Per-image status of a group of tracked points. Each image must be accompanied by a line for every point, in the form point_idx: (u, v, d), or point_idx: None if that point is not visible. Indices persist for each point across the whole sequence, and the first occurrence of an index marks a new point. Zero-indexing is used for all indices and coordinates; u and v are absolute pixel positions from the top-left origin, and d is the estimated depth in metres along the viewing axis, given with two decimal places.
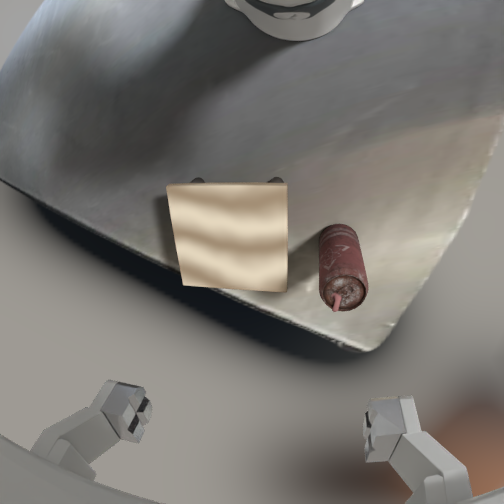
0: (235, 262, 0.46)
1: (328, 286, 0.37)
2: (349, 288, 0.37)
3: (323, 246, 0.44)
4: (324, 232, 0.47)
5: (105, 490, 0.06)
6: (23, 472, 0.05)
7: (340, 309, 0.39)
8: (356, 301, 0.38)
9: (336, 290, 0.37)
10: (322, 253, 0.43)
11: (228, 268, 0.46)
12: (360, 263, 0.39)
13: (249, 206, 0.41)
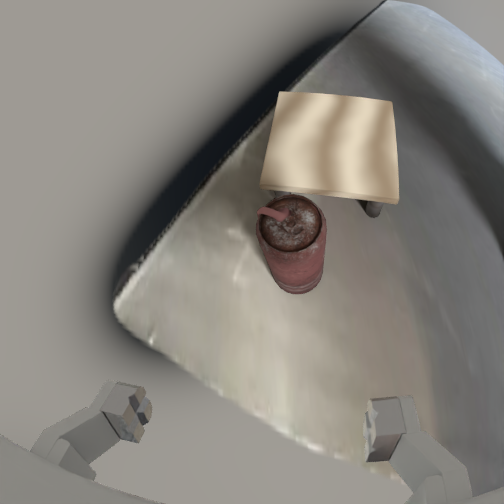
0: (306, 138, 0.38)
1: (302, 204, 0.27)
2: (296, 231, 0.27)
3: None
4: None
5: (105, 490, 0.06)
6: (23, 472, 0.05)
7: (260, 218, 0.28)
8: (272, 240, 0.27)
9: (294, 214, 0.27)
10: None
11: (299, 131, 0.38)
12: (313, 262, 0.29)
13: (374, 161, 0.35)
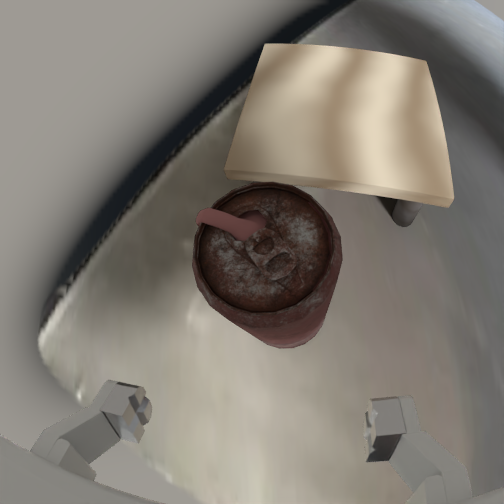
0: (303, 101, 0.23)
1: (291, 202, 0.13)
2: (275, 262, 0.12)
3: None
4: None
5: (105, 490, 0.06)
6: (23, 472, 0.05)
7: (201, 232, 0.13)
8: (221, 283, 0.12)
9: (273, 223, 0.13)
10: None
11: (291, 91, 0.24)
12: (312, 320, 0.14)
13: (411, 137, 0.20)
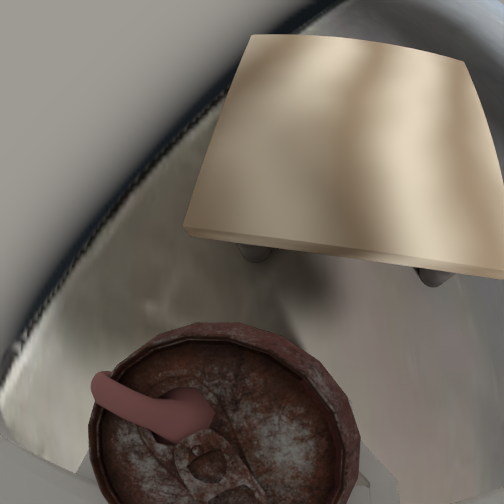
0: (303, 115, 0.16)
1: (265, 380, 0.06)
2: (230, 494, 0.05)
3: None
4: None
5: None
6: (23, 472, 0.05)
7: (99, 415, 0.06)
8: None
9: (227, 423, 0.06)
10: None
11: (286, 100, 0.16)
12: None
13: (459, 174, 0.13)
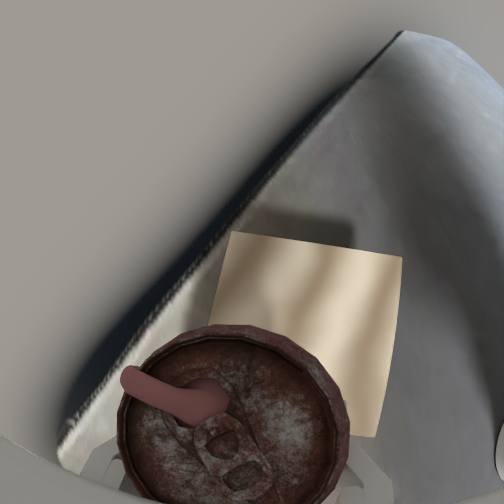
0: None
1: (273, 372, 0.07)
2: (241, 469, 0.06)
3: None
4: None
5: (105, 490, 0.06)
6: (23, 472, 0.05)
7: (127, 404, 0.07)
8: (161, 484, 0.06)
9: (240, 408, 0.07)
10: None
11: (251, 318, 0.27)
12: None
13: (354, 379, 0.24)
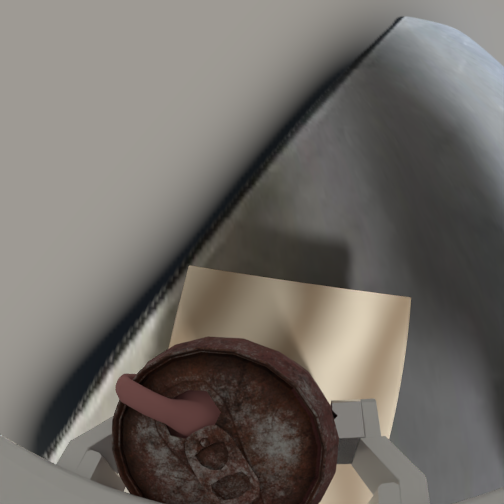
0: None
1: (263, 387, 0.07)
2: (229, 479, 0.06)
3: (307, 371, 0.15)
4: None
5: (105, 490, 0.06)
6: (23, 472, 0.05)
7: (122, 412, 0.07)
8: (153, 488, 0.06)
9: (230, 421, 0.07)
10: None
11: None
12: None
13: None
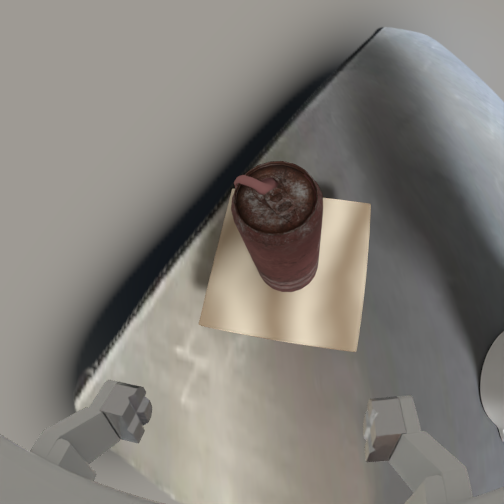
0: None
1: (293, 174, 0.21)
2: (283, 207, 0.20)
3: None
4: None
5: (105, 490, 0.06)
6: (23, 472, 0.05)
7: (238, 189, 0.21)
8: (250, 218, 0.20)
9: (282, 185, 0.21)
10: None
11: (248, 253, 0.34)
12: (304, 250, 0.22)
13: (334, 299, 0.31)
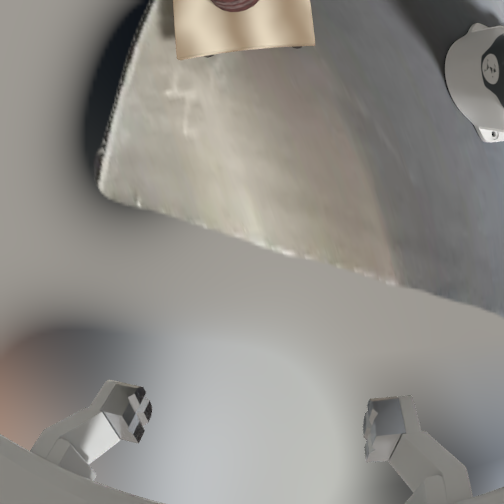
0: None
1: None
2: None
3: None
4: None
5: (105, 490, 0.06)
6: (23, 472, 0.05)
7: None
8: None
9: None
10: None
11: None
12: None
13: (285, 7, 0.28)
